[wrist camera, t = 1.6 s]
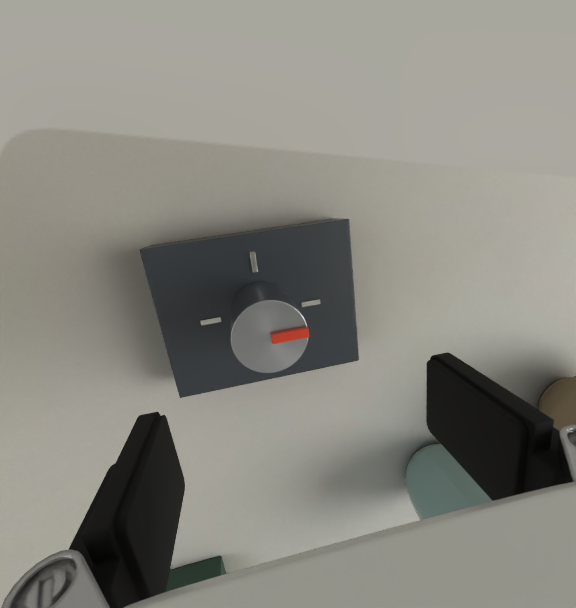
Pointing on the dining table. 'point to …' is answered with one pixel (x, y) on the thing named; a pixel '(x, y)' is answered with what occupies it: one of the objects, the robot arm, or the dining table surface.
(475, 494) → the cup
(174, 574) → the button box
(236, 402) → the dining table surface
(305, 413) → the dining table surface
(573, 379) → the bowl
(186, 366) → the panel
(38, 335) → the dining table surface
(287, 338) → the dial
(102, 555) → the robot arm
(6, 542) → the dining table surface
